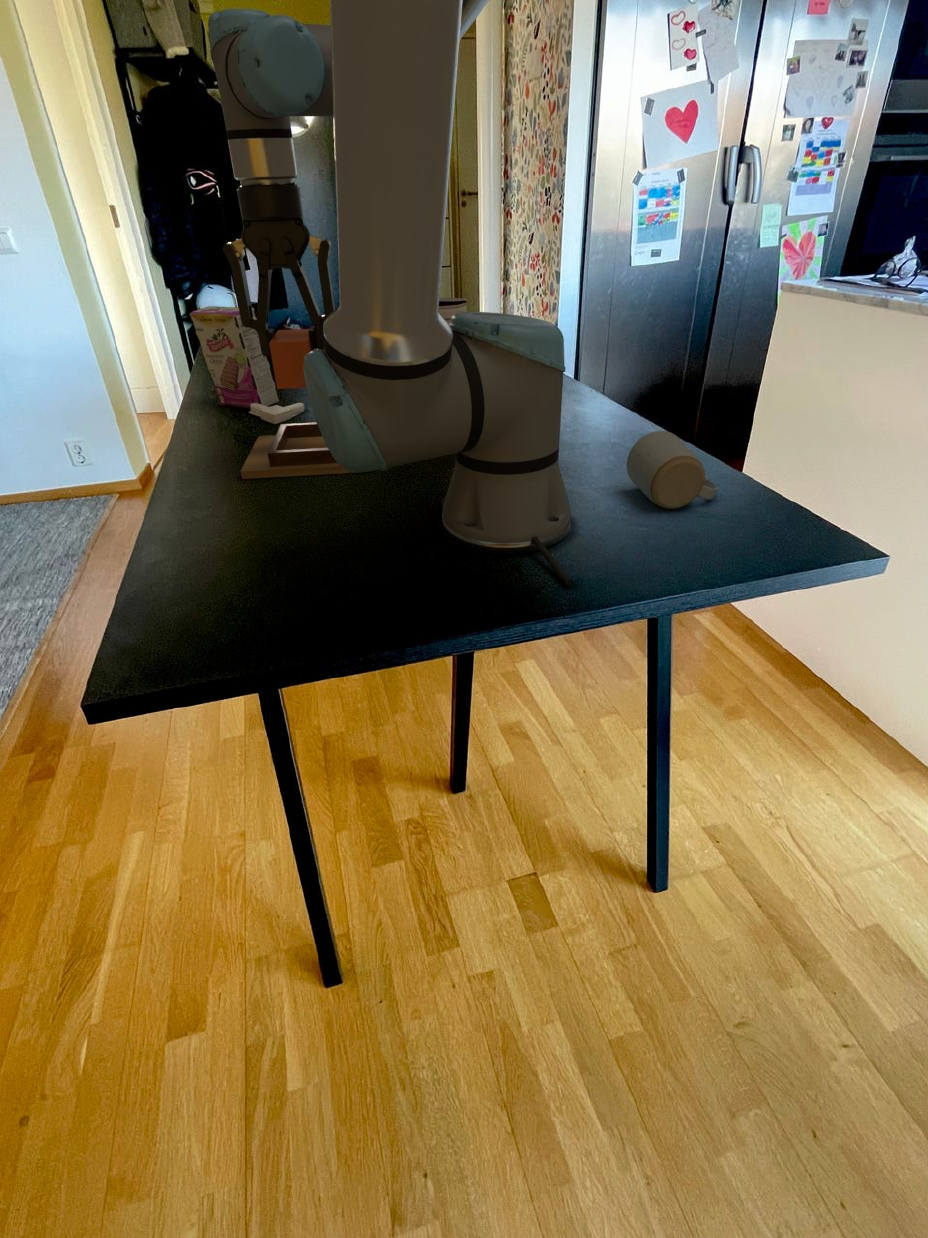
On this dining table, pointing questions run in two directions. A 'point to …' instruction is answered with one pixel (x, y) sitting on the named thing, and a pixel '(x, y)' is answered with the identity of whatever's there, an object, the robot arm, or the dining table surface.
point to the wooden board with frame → (291, 454)
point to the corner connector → (276, 412)
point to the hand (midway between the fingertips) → (298, 378)
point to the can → (451, 307)
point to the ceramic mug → (668, 471)
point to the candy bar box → (234, 358)
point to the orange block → (290, 357)
